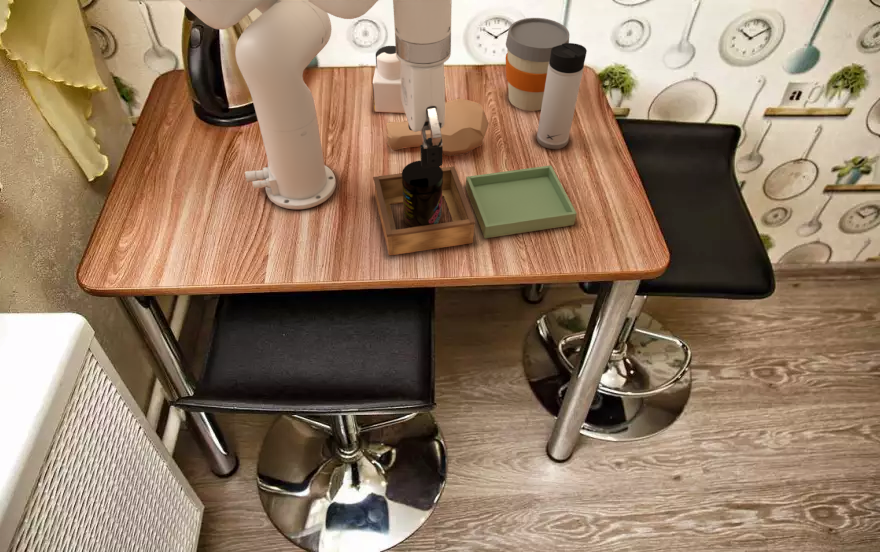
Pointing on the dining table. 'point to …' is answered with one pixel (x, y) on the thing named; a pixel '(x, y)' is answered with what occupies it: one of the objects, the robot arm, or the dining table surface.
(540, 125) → the travel mug
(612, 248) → the dining table surface
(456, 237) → the brown wooden square frame
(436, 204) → the supplement container
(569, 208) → the tray
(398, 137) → the squash
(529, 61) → the reusable coffee cup
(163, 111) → the dining table surface
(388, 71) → the white block figurine
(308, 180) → the robot arm
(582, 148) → the dining table surface
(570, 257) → the dining table surface
